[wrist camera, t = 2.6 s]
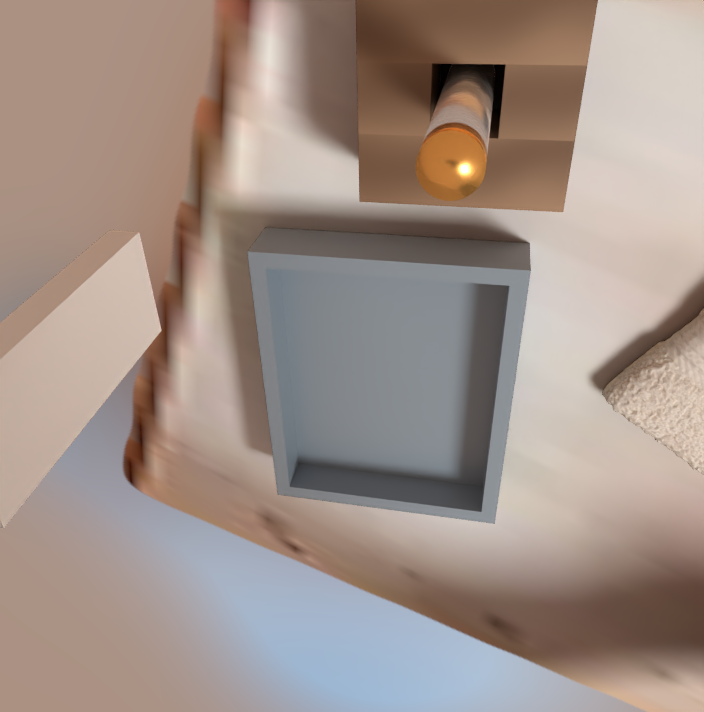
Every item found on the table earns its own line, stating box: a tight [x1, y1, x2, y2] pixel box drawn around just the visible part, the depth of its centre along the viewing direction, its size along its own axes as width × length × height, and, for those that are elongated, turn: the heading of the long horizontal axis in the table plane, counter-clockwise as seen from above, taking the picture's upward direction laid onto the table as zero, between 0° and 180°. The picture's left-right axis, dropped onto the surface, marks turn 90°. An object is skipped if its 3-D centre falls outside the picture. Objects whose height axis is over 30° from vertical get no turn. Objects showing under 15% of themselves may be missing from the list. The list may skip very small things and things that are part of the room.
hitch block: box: [356, 0, 598, 212], centre depth 32 cm, size 10×10×5 cm
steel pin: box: [416, 64, 496, 201], centre depth 28 cm, size 2×2×14 cm
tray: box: [247, 227, 531, 524], centre depth 44 cm, size 20×16×4 cm
